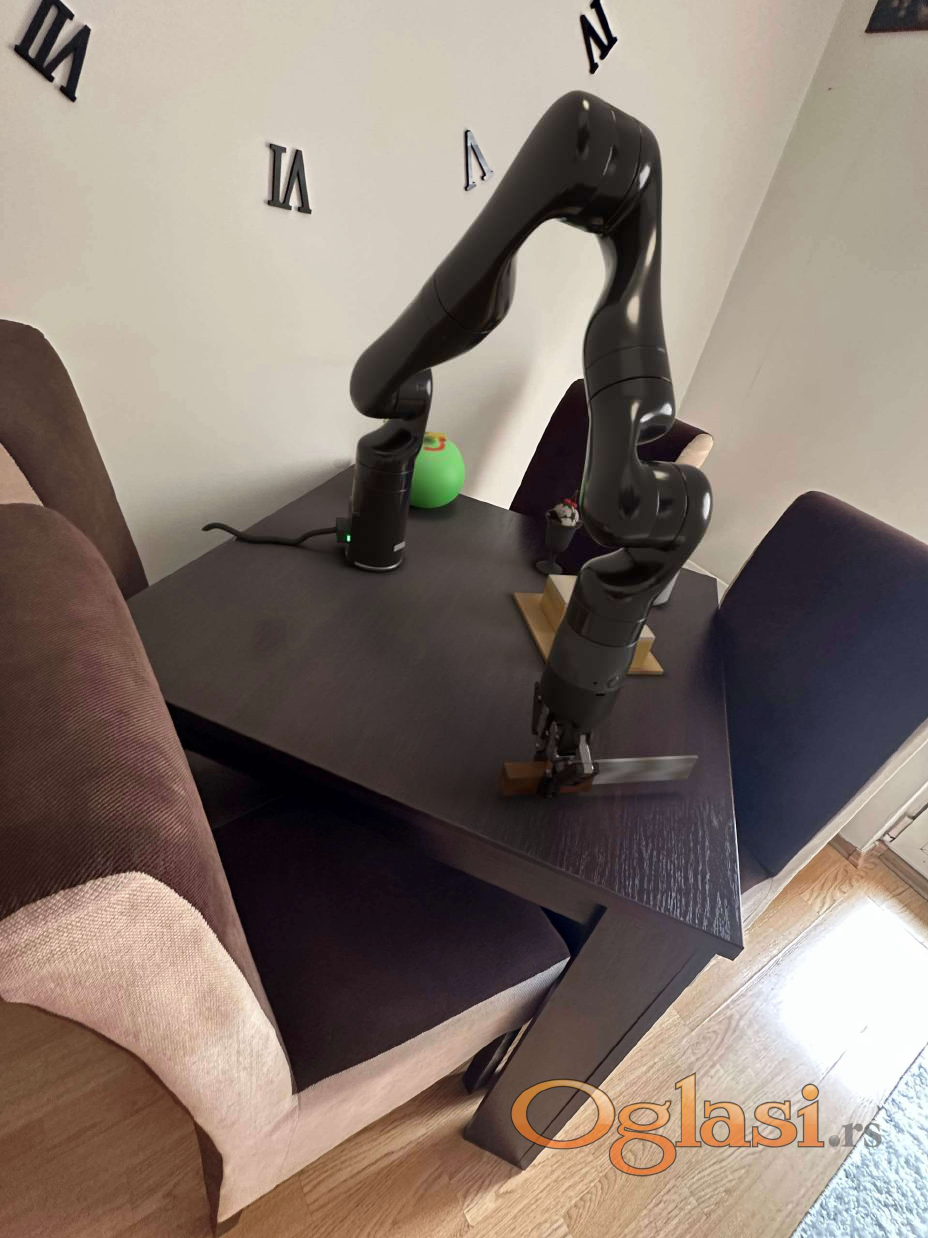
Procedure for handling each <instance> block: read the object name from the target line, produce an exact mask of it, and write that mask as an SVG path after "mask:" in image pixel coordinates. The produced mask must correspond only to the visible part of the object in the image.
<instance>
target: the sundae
mask: <svg viewBox="0 0 928 1238" xmlns="http://www.w3.org/2000/svg"><path fill="white" fill-rule="evenodd" d="M579 492H580V490H577V489H575V492H574V494H573V495H572V496H571V497H570V498H565V499H564V500H563V501H562V502H560V503H558V504H557V505H555V506H554V508H552V509H548V510H547V511H546V512H545V517H546V520H547V524H546V525H547V526H546V531H545V542H544V543H545V545H546V548H547V549H548V550H549V552H550V553H549V557H548V559H547V560H539V561H538V562H536V563H535V567H536V569H537V570H538V571H539V572H541V573H543V574H544V575H548V576H549V575H561V574H562V573H563V568H562V567H561V566H560V565H559V564H558V563H556V557H557V555H558V554H559V553H562V552H564V551H566V550H567V548H568V547H569V545H570V544H571V541H572V539H573V536H574V535H575V532H576V531H577V530H579V529H580V528H581V527H582V526H583V525H584V524H583V521H582V519H581V518H579V517H580V515H579V512H578V511H577V509H576V508H577V507H578V505H577V503H576V500H577V497H578V496H577V495H578V493H579ZM573 498H574V501H572V502H571V499H573Z"/></svg>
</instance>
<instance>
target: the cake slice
mask: <svg viewBox="0 0 928 1238" xmlns="http://www.w3.org/2000/svg"><path fill="white" fill-rule="evenodd" d="M655 639H656V636H655V635H654V633H653V631H651V629H650V627H648V625H647V624H645V625H644V627H643V630H642V632H641V635H640V637H639V640H638V643H637V647H636V651H635V655H634V658H633V661H632V664H631V666H630V668H642V667H643V664H644V662H645V660H646V657H647V655H648V653H649V651H651V648H652V646H653V644H654V641H655Z"/></svg>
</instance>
